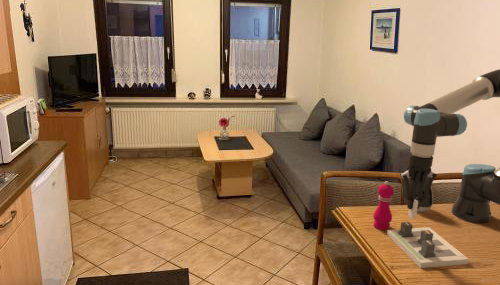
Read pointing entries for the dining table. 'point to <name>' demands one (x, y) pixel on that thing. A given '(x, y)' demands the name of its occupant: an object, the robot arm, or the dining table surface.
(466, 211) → the robot arm
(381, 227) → the pepper mill
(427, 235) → the breaker
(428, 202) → the black glossy egg shape
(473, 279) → the dining table surface
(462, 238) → the dining table surface
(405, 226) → the breaker
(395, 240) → the panel
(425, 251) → the breaker
